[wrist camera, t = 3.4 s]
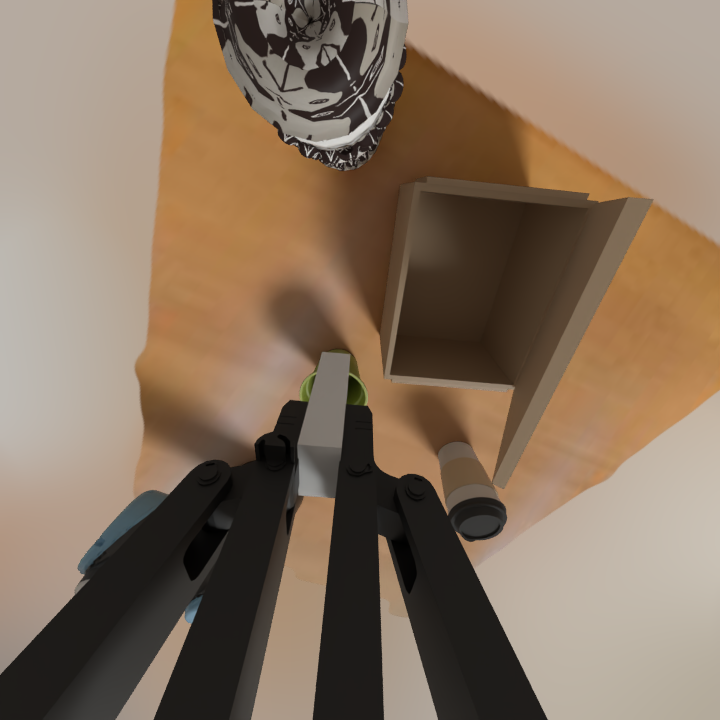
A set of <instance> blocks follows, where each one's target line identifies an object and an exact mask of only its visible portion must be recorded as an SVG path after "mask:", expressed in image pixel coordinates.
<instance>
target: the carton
mask: <svg viewBox="0 0 720 720" xmlns="http://www.w3.org/2000/svg"><path fill="white" fill-rule="evenodd" d="M588 196H589V193H579V192H570V191H561V190H551V189H542V188H533V187H523V186H514V185H505V184H495V183H486V182H477V181H467V180H458V179H449V178H439V177H430V176H427V177H422V178H418V179H415V182H412V183H406V184H400V190H399V197H398V205H397V212H396V219H395V227H394V234H393V241H392V249H391V256H390V263H389V271H388V278H387V285H386V293H385V300H384V307H383V314H382V322H381V329H380V344H381V354H382V364H383V374H384V379H391V381H392V383H404V384H416V385H428V386H440V387H452V388H464V389H476V390H488V391H500V392H507V390H508V389H512V390H514V388H515V386H516V383H517V381H518V379H519V376H520V374H521V372H522V369H523V367H524V365H525V362H526V360H527V358H528V355H529V353H530V351H531V349H532V346H533V344H534V342H535V339H536V337H537V335H538V332H539V330H540V328H541V325H542V323H543V321H544V318H545V316H546V314H547V311H548V309H549V307H550V304H551V302H552V300H553V297H554V295H555V293H556V290H557V288H558V286H559V283H560V281H561V279H562V276H563V274H564V272H565V269H566V267H567V265H568V263H569V260H570V258H571V256H572V253H573V251H574V249H575V246H576V244H577V242H578V239H579V237H580V235H581V232H582V230H583V228H584V225H585V223H586V221H587V218H588V216H589V214H590V211H591V209H592V207H593V204H594V203H598V202H599V201H590V200H587V198H588Z"/></svg>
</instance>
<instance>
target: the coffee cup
mask: <svg viewBox="0 0 720 720" xmlns="http://www.w3.org/2000/svg"><path fill="white" fill-rule="evenodd" d="M438 458H439V464H440V469H441V479H442V485H443V491H444V497H445V503H446V507H447V508H448V517H449V519H450V522H451V524H452V526H453V528H454V530H455V531H456V532H458V533H460V534H461V536H462V537H463V538H464V539H465V540H467V541H469V542H473V541H475V540H486V539H490V538H493V537H495V536H497V535H498V534H499V533H500V532H501V531H502V530H503V526H504V525H505V523H506V521H507V515H506V508H505V506H504V504H503V503H501V501H500V499H499V498H498V493H497V491H496V490H495V488H494V486H493V484H492V482H491V481H490V479H489V477H488V475H487V473H486V471H485V470H484V468H483V466H482V464H481V463H480V462H479V460H478V458H477V456H476V454H475V452H474V451H473V449H472V447H471V446H470V445H469V444H467V443H464V442H451V443H448V444H446V445H445V446H443V447H442V448H441V449H440V451H439V453H438Z"/></svg>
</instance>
